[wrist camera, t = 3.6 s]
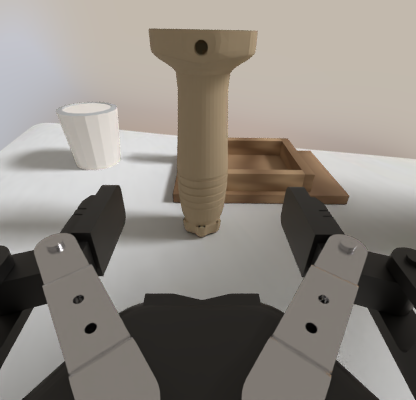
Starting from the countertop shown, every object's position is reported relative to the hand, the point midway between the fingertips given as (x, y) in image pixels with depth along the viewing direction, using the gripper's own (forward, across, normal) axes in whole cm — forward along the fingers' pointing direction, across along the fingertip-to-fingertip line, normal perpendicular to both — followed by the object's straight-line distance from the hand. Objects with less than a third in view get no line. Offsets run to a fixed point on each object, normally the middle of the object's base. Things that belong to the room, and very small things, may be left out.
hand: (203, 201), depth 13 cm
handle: (+8, 0, +8) cm, 11 cm away
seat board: (+18, -6, +8) cm, 20 cm away
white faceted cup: (+22, +14, +8) cm, 27 cm away
